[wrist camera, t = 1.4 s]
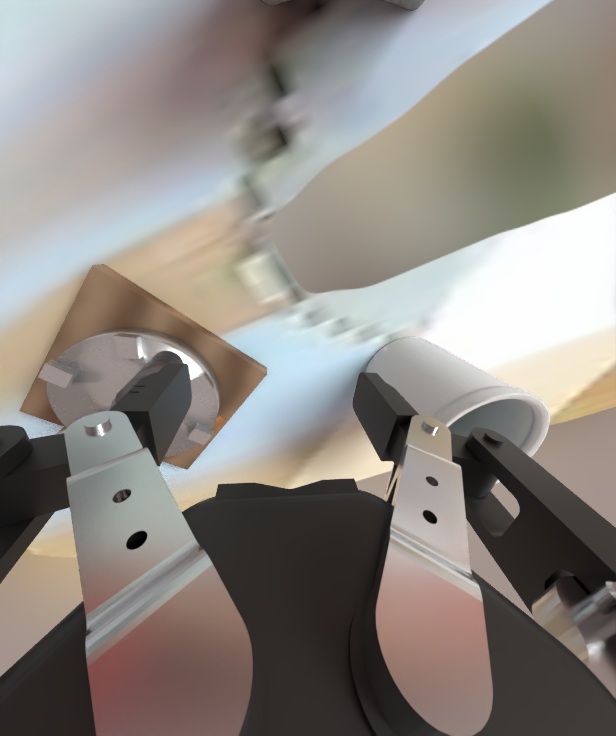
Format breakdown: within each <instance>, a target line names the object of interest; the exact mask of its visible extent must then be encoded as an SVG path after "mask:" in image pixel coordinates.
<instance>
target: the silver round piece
mask: <svg viewBox="0 0 616 736" xmlns="http://www.w3.org/2000/svg"><path fill="white" fill-rule="evenodd" d="M168 362H173V363H187V364H188V366H189V371H190V381H191V391H192V401H191V406H190V408H189V410H188V412H187V414H186V416H185V418H184V420H183V422H182V424H181V426H180V428H179V430H178V432H177V433H176V435H175V437H174V439H173V441H172V443H171V445H170V447H169V449H168V451H167V453H166V455H165V457H169V456H173V455H177V454H179V453H182V452H185V451H187V450H189V449H191V448H193V447H194V446H196V445H198V444H199V443H200V444H202V445H205V444H206V442H207V441H208V440H209V439H210V438H211V436H212V434H213V430H212V428H213V426H214V424H215V422H216V418H217V415H218V411H219V407H220V403H221V388H220V383H219V380H218V378H217V375H216V373H215V371H214V370H213V368H212V366H211V365H210V364H209V362H208V361H207V360H206V359H205V358H204V357H203V356H202V355H201V354H200V353H199V352H198V351H197V350H195V349H194V348H193V347H192V346H190V345H189V344H187V343H185V342H184V341H182V340H180V339H178V338H176V337H174V336H171V335H169V334H166V333H163V332H160V331H156V330H152V329H146V328H137V327H123V328H115V329H109V330H106V331H102V332H99V333H97V334H95V335H93V336H91V337H89V338H87V339H85V340H83V341H81V342H79V343H77V344H75V345H73V346H72V347H70V348H69V349H67V350H66V351H64V352H63V353H62V354H61V355H60V356H59V357H58V358H57V359H56V360H54V359H52V360H50V361H48V362H46V363H45V364H44V366H43V368H42V370H41V372H40V374H39V376H38V378H41V379H43V380H45V381H47V394H48V398H49V402H50V404H51V407H52V409H53V411H54V412H55V414H56V416H57V417H58V419H59V420H60V421H61V422H62V423H63V425H64V426H65V427H63V428H62V429H61V430H60V431H59V432H58V433H57V434H62V433H65V430H66V429H67V428H68V426H70V425H71V424H72V423H73V422H75V421H77V420H78V419H80V418H82V417H85V416H87V415H90V414H94V413H98V412H103V411H109V410H110V409H111V408H112V407H113V406H114V405H115V404H116V403H117V402H118V401H119V400H120V399H121V398H122V397H123V396H124V395H125V394H126V393H128V391H129V390H130V389H131V388H132V387H134V385H135V384H136V383H137V382H138V381H139V380H140V379H142V378H143V377H146V376H148V375H150V374H152V373H158V372H159V371H160V370H161V369H162V367H163V366H164V365H165V364H166V363H168Z"/></svg>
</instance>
